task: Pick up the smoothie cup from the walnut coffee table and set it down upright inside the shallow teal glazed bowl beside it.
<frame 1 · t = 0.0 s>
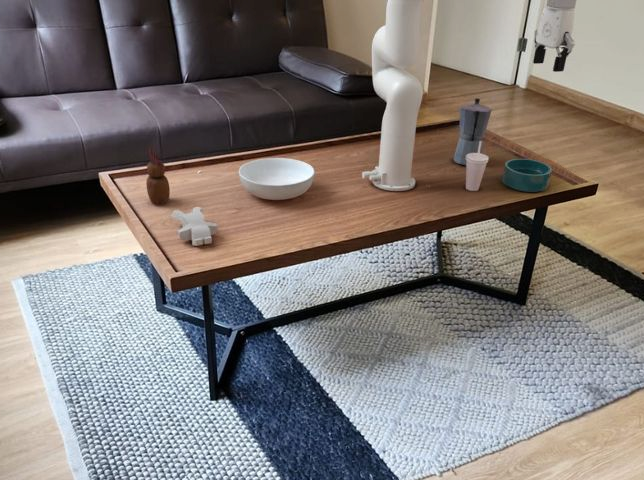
hand: (547, 67, 185), 31 cm above the table, tool pointing down, fingers open, 9 cm apart
smoothie: (472, 189, 187), on the table
serving bowl: (276, 194, 180), on the table
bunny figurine: (195, 235, 158), on the table
wooden figurine: (159, 202, 173), on the table
moka pot: (467, 163, 205), on the table
bowl: (524, 184, 191), on the table
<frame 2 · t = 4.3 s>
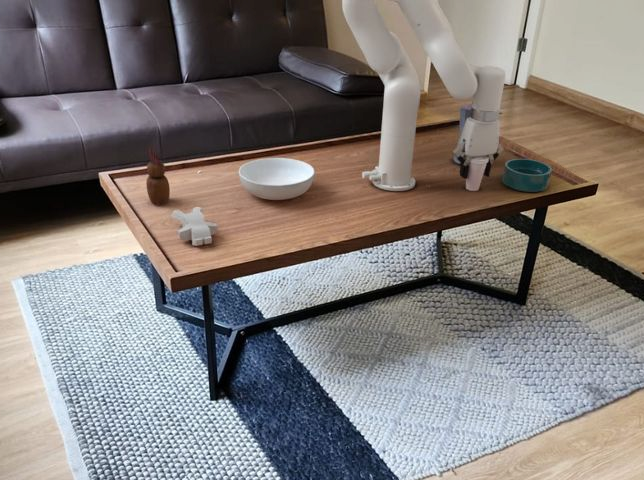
hand: (474, 175, 185), 4 cm above the table, tool pointing down, fingers closed on smoothie, 6 cm apart
smoothie: (472, 189, 187), on the table, touching gripper
everything else where it was.
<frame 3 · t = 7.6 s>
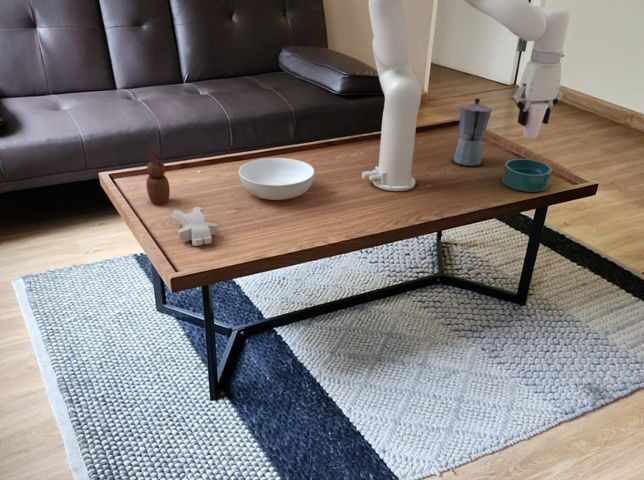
hand: (532, 122, 181), 19 cm above the table, tool pointing down, fingers closed on smoothie, 6 cm apart
smoothie: (529, 137, 183), point 15 cm above the table, touching gripper
everything else where it was.
when the fingers open (4 cm above the table, at t = 11.3 s): smoothie stays where it is, resting on bowl.
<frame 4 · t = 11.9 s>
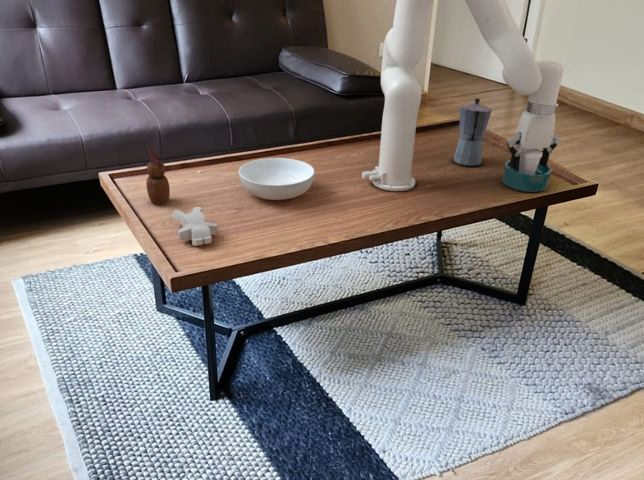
hand: (528, 166, 188), 6 cm above the table, tool pointing down, fingers open, 9 cm apart
smoothie: (524, 183, 191), resting on bowl
everything else where it was.
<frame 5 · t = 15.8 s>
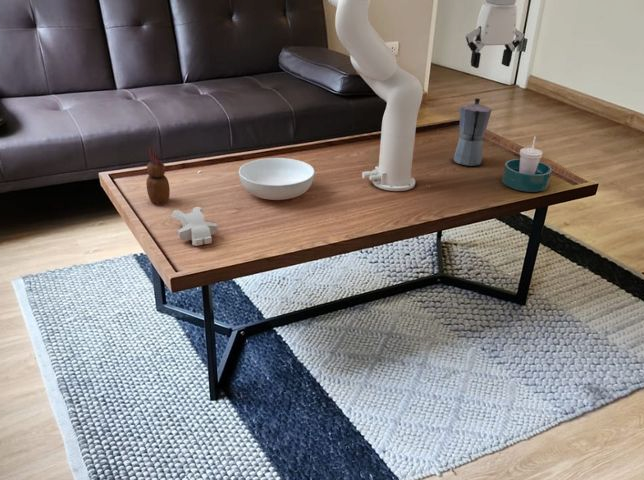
hand: (490, 66, 179), 32 cm above the table, tool pointing down, fingers open, 9 cm apart
nothing on the table moved.
at the end: smoothie 0.1 cm off-centre in the bowl, point 0.3 cm above the bowl's base; smoothie tilted 0°; the gripper is holding nothing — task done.
